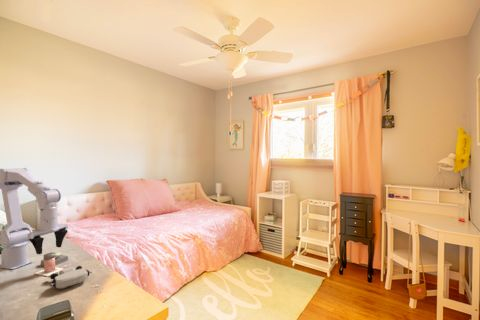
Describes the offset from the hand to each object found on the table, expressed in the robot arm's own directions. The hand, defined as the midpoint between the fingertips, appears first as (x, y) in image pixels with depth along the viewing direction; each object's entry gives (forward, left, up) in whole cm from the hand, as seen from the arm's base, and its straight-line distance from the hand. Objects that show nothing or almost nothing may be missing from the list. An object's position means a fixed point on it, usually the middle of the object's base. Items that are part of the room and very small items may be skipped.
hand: (49, 250), depth 98 cm
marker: (0, 0, -9) cm, 9 cm away
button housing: (-7, +7, -9) cm, 14 cm away
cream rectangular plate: (0, 0, -9) cm, 9 cm away
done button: (-7, +7, -8) cm, 13 cm away
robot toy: (+17, -4, -10) cm, 19 cm away
